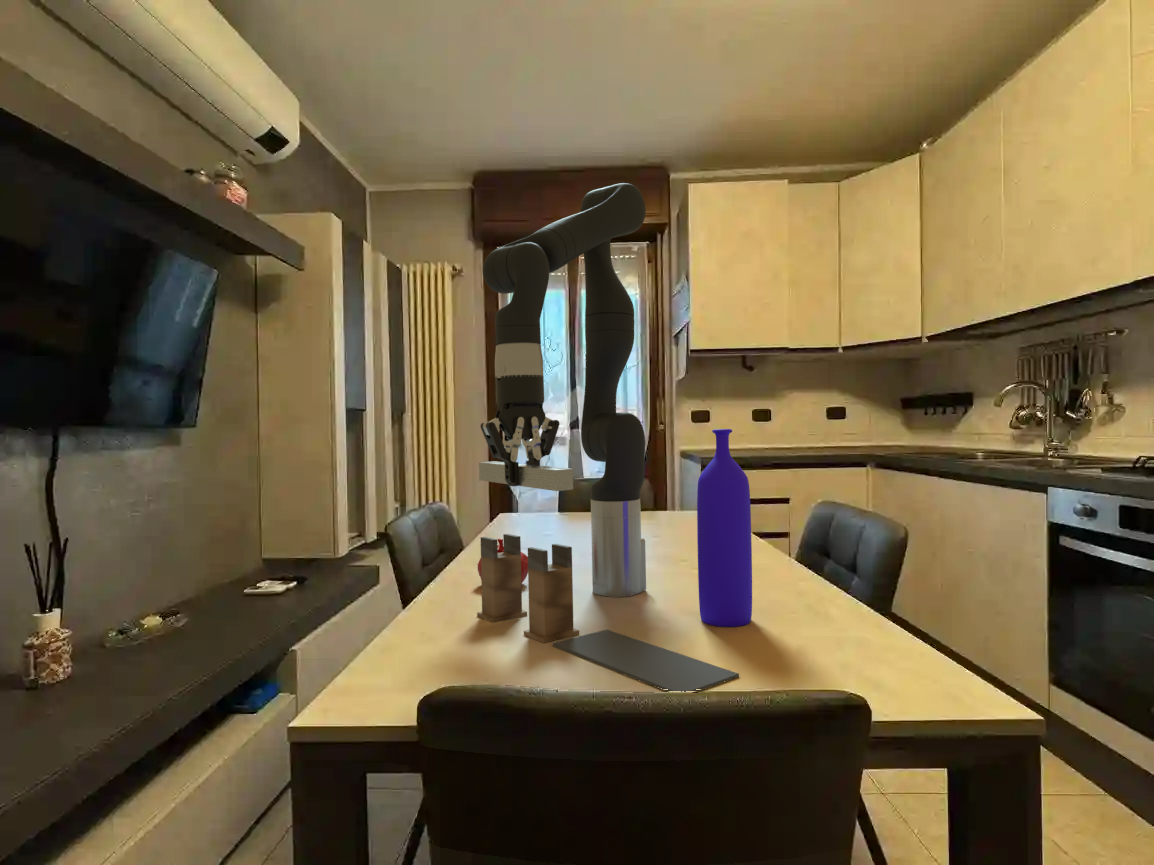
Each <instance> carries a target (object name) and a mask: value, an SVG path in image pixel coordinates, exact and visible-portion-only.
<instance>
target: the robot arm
mask: <svg viewBox="0 0 1154 865" xmlns="http://www.w3.org/2000/svg"><path fill="white" fill-rule="evenodd" d="M646 212H647V210H646V202H645V200H644V196H643V194H642V192H641V191H640V189H639V188H638V187H637V186H635V185H633V184H631V183H625V182H622V183H615V184H612V185H608V186H604V187H602V188H601V187H600V188H597V189H593V190H591V191H589V192H587V193H586V194H585V195H584V197H583V198H582V201H581V204H580V212H578V213H574V214H572V215H569V216H566V217H563V218H561V219H558V220H556V221H554V222H551V223H550V224H547V225H546V226H543V227H542V228H540V229H538V230H537V231H534V232H533V233H532V234H529V236H525V237H523V238H520V239H517V240H516V241H515V240H514V241H513V242H510V243H507V244H505V245H502V246H499V247H498V248H496V249H494V250H492V251H491V252H490V253H489V254H488V255H487V256H486V258H485V259H484V262H483V265H482V277H483V280H484V282H485V284H486V285H487V287H489V289H490V290H492V291H494V292H496V293H498V294H504V295H505V294H512V296H511V300H510V302H509V303H508V304H507V305H504V307H501V308H499V309H498V310H497V312H496V313H495V318H494V325H495V326H494V329H495V357H494V378H495V379H494V380H495V384H494V385H495V403H496V405H497V411H496V412H495V417H494V418H493V419H491V420H489V421H485V422H482V423H480V430H481V431H482V434H483V436H484V439H485V441H486V443H487V445H488V449H489V450H490V453H491V456H492V458H494V459H499V460H501V461H502V462H504V463H505V480H506V482H508V484H507V486H509V487H519V486H518V485H519V473H518V466H519V465H518V464H519V461H518V454H519V448H520V447H521V444H522V445H523V446H524V447H525V448H524V449H525V454H526V459H528V460H525V461H526V464H528V465H539V466H541V459H542V458H544V457H546V456H549V455H551V452H552V449H553V446H554V443H555V440H556V437H557V434H558V430H559V427H560V421H559V420H558V419H551V418H550V417H547V416H546V413H545V411H544V407H543V406H544V402H545V381H544V380H545V379H544V378H545V377H544V357H543V352H542V345H541V343H542V340H541V339H542V338H541V337H542V335H541V317H542V313H543V312H542V311H543V309H544V308H543V307H544V304H545V303H544V302H545V299H546V295H547V294H546V293H547V290H548V287H549V286H548V285H549V280H550V273H551V274H552V273H553V272H557V270H559V269H561V268H563V267H564V266H566V265H568V264H569V263H571V262H572V261H574V260H575V259H577V258H578V257H580V256H581V255H583V260H584V279H585V281H584V282H585V310H584V311H585V312H584V313H585V314H584V332H585V333H584V336H585V368H584V369H585V370H584V373H585V376H584V379H585V380H584V383H585V384H584V394H583V396H584V397H583V406H582V414H581V415H582V417H581V426H580V427H581V428H580V439H581V445H582V448H583V449H582V450H583V451H584V453H585V454H586V456H587V457H588V458H589V459H591V460H592V461H596V462H603V463H604V462H605V463H604V464H605V466H604V473H603V475H602V476H601V478H600V479H599V480H596V481H595V482H593V483H592V484H591V486H590V519H591V520H590V521H591V522H590V524H591V527H590V528H591V532H590V533H591V571H592V572H591V576H592V577H591V578H592V579H591V582H592V593H594V594H596V595H598V596H603V597H604V596H605V597H628V596H629V597H631V596H635V595H638V594H641V593H642V592H643V591H646V590H647V569H646V568H647V567H646V566H647V565H646V562H647V560H646V559H647V558H646V554H647V553H646V540H645V538H643V537H642V516H641V513H642V512H641V509H642V508H641V491H642V487H643V484H644V480H645V466H646V465H645V460H646V437H645V436H646V435H645V431H644V426H643V425H642V421H641V420H640V419H639V418H638V416H637V415H635V414H633V413H630V412H617V393H618V391H617V390H618V385H619V383H620V379H621V377H622V374H623V372H624V370H625V367H626V365H627V363H628V361H629V358H630V356H631V353H632V351H633V346H634V342H635V307H634V304H633V301H632V298H631V297H630V295H629V293H628V291H627V289H626V288H625V286H624V285H623V283H622V281H621V280H620V279H619V276H618V274H617V273H616V271H615V269H614V265H613V261H612V252H611V240H612V239H614V238H619V237H622V236H629V235H630V234H634V233H635V232H637V231H638V230H639V229H640V228H641V227H642V226H643V224H644V221H645V220H646V219H645V218H646ZM540 429H541V434H540ZM500 430H501V431H502V432H503V436H502V437H501V435H500ZM517 461H518V462H517Z"/></svg>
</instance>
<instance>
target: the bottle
mask: <svg viewBox="0 0 1154 865" xmlns="http://www.w3.org/2000/svg"><path fill="white" fill-rule="evenodd" d="M711 432H712V433H713V434H714V435H715V446H716V447H715V453H714V456H713V458H712V459H711V461H710V462H709V463H708V464H707V465H706V466H705V468H704V470H702V472H701V474H700V475H699V477H698V480H697V492H696V493H697V497H696V500H697V501H696V504H697V505H696V508H697V509H696V520H697V521H696V527H697V528H696V529H697V530H696V533H697V534H696V535H697V536H696V537H697V538H696V539H697V573H698V574H697V576H698V577H697V579H698V581H697V582H698V604H699V616H700V619H701V621H702V622H703V623H704V624H706V625H711V626H713V627H714V626H715V627H723V628H734V627H735V628H737V627H743V626H747V625H748V624H750V622H751V621H752V614H753V562H752V560H753V559H752V558H753V555H752V554H753V550H752V548H753V547H752V546H753V545H752V516H751V515H752V513H751V512H752V511H751V508H752V507H751V493H750V491H751V490H750V483H749V478H748V476H747V475H746V473H745V471H744V470H743V469H742V468H741V466H740V465H739V464H738V463H737V462H736V461H735V460H734V458H733V457H732V454H731V452H730V438H729V437H730V434H731V433H733V429H730V428H720V429H719V428H715V429H712V431H711Z"/></svg>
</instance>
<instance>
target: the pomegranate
mask: <svg viewBox="0 0 1154 865" xmlns="http://www.w3.org/2000/svg"><path fill="white" fill-rule="evenodd" d="M497 543H498V544H497V547H498V553H501V552H504V538H497ZM477 572H478V575H479V576H478V577H480V578H481V557H480V558H479V560H478V563H477ZM527 576H528V555H526V554H525V553H524V552H523V551H521V584H523V583H524V581H525V580H526V578H528V577H527Z"/></svg>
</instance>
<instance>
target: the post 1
mask: <svg viewBox="0 0 1154 865" xmlns="http://www.w3.org/2000/svg"><path fill="white" fill-rule="evenodd" d="M479 539H480V558H481V577H480V580H481V581H480V582H481V611H477V612H476V616H477V617H478V618H481V619H483V620H486V621H489V622H491V623H497V622H503V621H508V620H513V619H516V618H522V617H527V616H528V611H526V610H523V596H522V595H523V594H522V583H521V552H522V550H521V549H522V547H521V544H522V543H521V536H520V535H515V534H510V533H504V534H503V538H502V539H503V547H504V552H501V553H498V547H497V545H498V538H493V537H488V536H487V537H486V536H481V537H480V538H479Z"/></svg>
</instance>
